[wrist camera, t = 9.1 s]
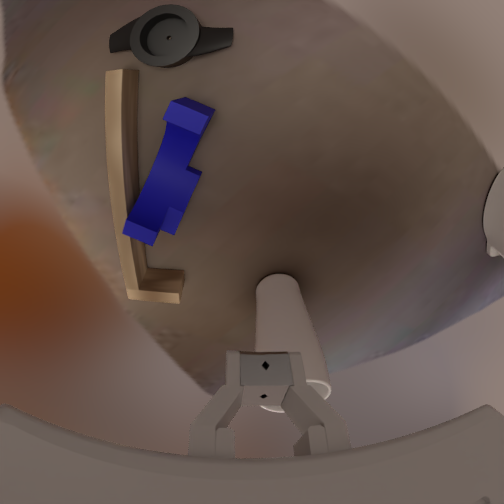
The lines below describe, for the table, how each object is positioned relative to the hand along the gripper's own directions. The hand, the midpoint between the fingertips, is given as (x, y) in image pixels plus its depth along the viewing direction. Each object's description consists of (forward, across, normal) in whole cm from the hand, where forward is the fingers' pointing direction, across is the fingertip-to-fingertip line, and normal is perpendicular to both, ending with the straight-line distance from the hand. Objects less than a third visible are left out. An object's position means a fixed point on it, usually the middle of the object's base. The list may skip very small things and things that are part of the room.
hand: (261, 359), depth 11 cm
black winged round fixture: (+20, +8, -14) cm, 26 cm away
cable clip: (+20, +7, -2) cm, 21 cm away
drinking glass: (+20, -5, +13) cm, 24 cm away
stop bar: (+19, +10, +1) cm, 21 cm away
